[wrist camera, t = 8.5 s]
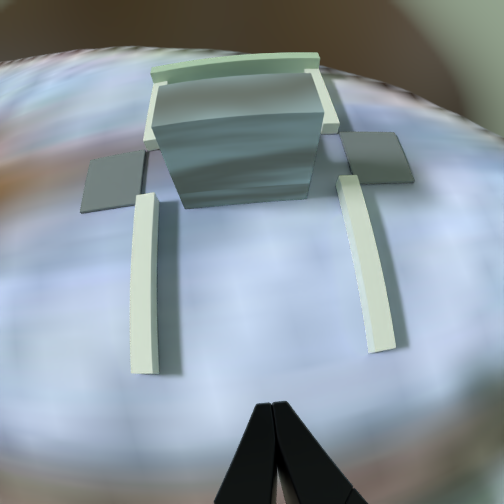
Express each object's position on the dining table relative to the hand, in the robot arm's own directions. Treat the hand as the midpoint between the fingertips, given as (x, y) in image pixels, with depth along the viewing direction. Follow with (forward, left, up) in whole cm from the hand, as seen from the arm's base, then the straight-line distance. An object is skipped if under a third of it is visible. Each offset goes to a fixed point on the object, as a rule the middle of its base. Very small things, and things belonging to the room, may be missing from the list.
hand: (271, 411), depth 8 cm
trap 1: (+2, -22, -14) cm, 26 cm away
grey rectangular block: (+14, -16, -14) cm, 26 cm away
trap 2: (+21, -6, -14) cm, 26 cm away
